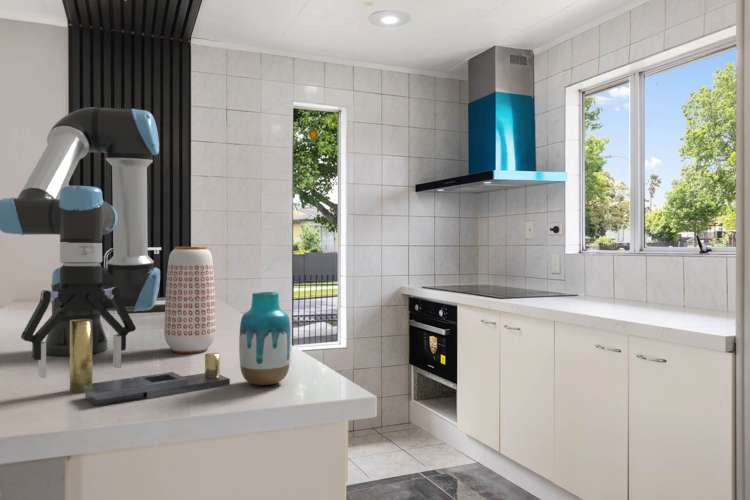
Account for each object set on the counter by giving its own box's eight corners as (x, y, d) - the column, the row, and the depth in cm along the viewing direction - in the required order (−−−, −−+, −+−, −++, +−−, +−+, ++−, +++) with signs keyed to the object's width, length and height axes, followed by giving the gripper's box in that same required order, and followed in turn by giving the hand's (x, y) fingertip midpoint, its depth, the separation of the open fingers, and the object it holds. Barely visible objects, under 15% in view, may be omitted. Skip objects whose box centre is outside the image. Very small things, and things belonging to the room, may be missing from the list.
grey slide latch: (83, 397, 110) (83, 366, 110) (212, 377, 127) (212, 350, 127) (96, 407, 104) (96, 373, 104) (229, 384, 121) (229, 355, 121)
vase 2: (266, 393, 114) (267, 296, 114) (228, 385, 120) (228, 293, 120) (300, 382, 123) (301, 292, 123) (263, 375, 129) (264, 289, 129)
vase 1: (161, 356, 150) (161, 247, 149) (167, 346, 163) (167, 246, 162) (214, 354, 153) (215, 247, 152) (216, 345, 166) (217, 246, 165)
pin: (67, 390, 115) (67, 319, 115) (89, 387, 118) (89, 318, 118) (72, 394, 112) (72, 322, 112) (94, 390, 115) (94, 320, 115)
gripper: (11, 266, 104) (11, 384, 104) (151, 264, 120) (151, 366, 120) (4, 265, 109) (4, 377, 110) (139, 262, 126) (138, 360, 126)
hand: (81, 371), depth 115 cm, fingers open, 13 cm apart
